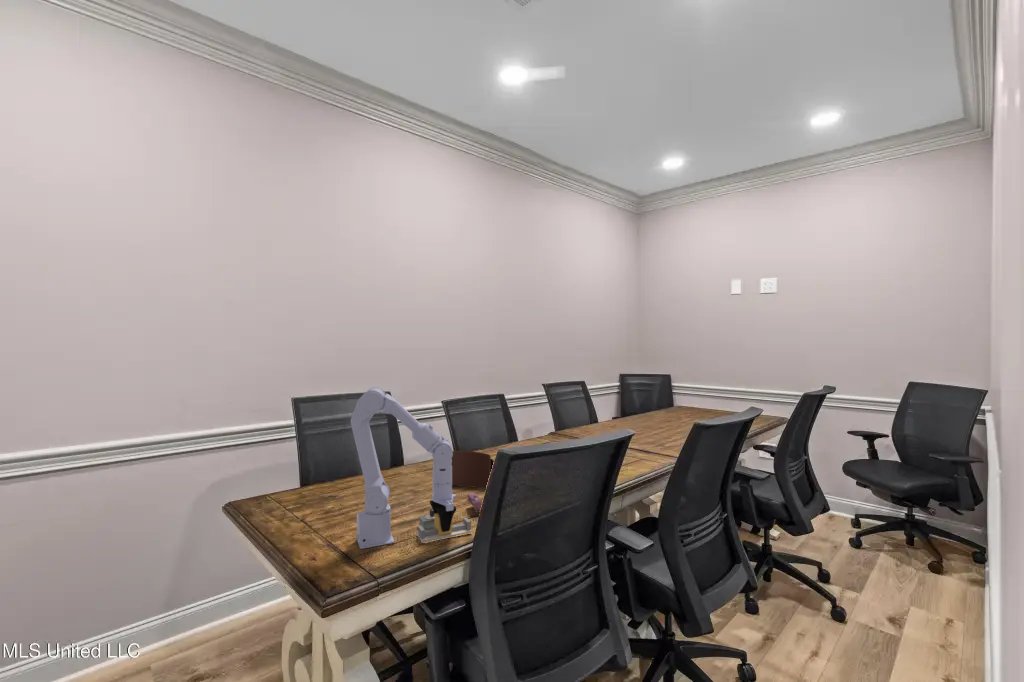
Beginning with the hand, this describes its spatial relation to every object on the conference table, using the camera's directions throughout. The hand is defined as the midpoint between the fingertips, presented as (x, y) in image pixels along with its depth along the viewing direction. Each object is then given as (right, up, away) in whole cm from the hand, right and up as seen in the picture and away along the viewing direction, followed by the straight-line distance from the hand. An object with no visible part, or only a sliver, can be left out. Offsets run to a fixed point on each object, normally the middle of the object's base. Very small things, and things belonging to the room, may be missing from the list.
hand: (442, 527), depth 139 cm
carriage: (0, -1, 0) cm, 1 cm away
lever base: (-4, -2, +7) cm, 8 cm away
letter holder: (+4, -3, +52) cm, 52 cm away
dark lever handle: (-3, +1, +8) cm, 8 cm away
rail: (+1, -2, 0) cm, 2 cm away
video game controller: (+9, -3, +21) cm, 23 cm away
